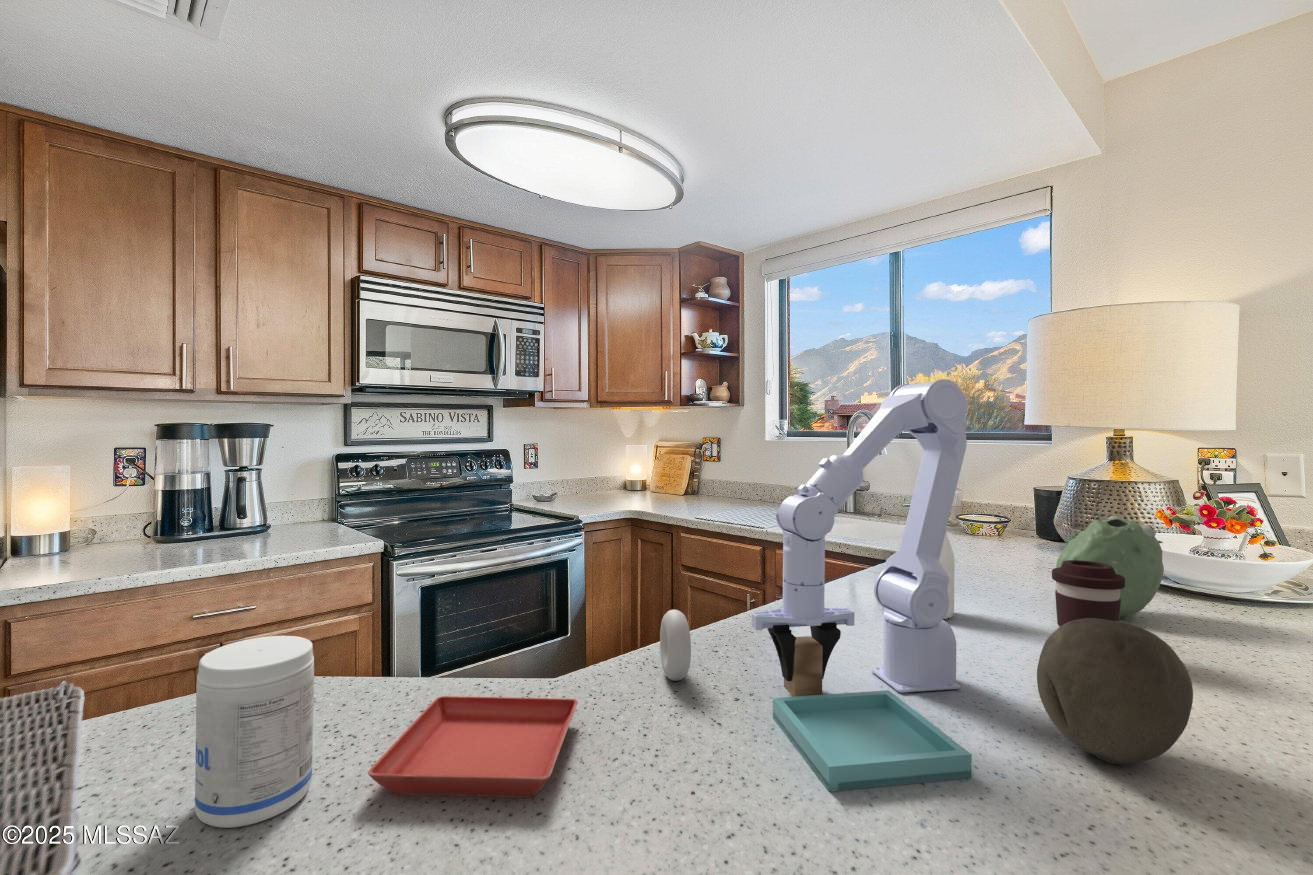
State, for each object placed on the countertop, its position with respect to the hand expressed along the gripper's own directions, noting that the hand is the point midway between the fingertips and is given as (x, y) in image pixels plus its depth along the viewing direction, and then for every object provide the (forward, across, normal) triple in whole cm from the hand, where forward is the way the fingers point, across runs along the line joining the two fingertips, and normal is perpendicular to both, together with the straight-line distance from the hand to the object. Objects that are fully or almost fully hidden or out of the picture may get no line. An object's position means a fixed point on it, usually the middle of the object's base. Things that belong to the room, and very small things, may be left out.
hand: (802, 677), depth 84 cm
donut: (+2, -17, +7) cm, 19 cm away
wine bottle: (+2, +40, +31) cm, 51 cm away
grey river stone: (+2, +28, -21) cm, 35 cm away
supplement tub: (+2, -63, -16) cm, 65 cm away
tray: (+2, +1, -15) cm, 15 cm away
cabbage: (+2, +76, +25) cm, 80 cm away
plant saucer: (+3, -42, -11) cm, 43 cm away
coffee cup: (+2, +53, +7) cm, 54 cm away
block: (+2, 0, 0) cm, 2 cm away
